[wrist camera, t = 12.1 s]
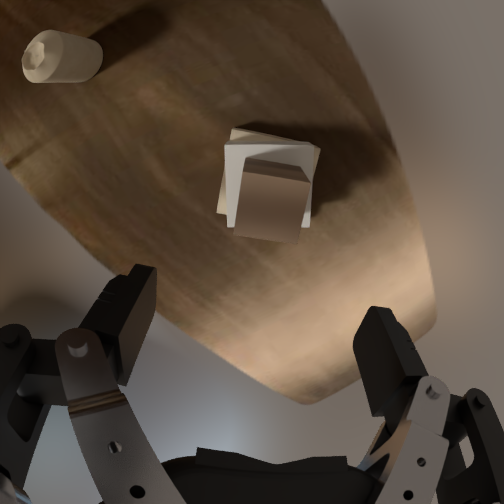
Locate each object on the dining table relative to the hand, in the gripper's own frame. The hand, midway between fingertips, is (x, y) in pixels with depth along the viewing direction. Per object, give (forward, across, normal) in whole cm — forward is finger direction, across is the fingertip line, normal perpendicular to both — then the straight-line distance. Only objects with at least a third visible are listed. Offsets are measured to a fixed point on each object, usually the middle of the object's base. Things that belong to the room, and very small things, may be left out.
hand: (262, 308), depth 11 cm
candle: (+24, +23, -10) cm, 35 cm away
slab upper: (+22, -1, +1) cm, 22 cm away
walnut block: (+19, -1, +1) cm, 19 cm away
